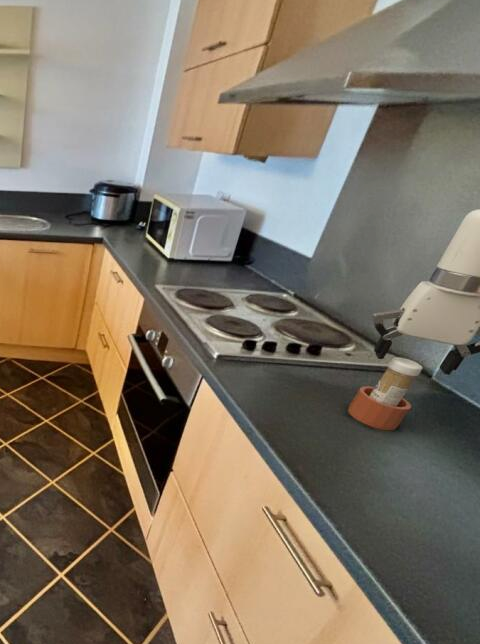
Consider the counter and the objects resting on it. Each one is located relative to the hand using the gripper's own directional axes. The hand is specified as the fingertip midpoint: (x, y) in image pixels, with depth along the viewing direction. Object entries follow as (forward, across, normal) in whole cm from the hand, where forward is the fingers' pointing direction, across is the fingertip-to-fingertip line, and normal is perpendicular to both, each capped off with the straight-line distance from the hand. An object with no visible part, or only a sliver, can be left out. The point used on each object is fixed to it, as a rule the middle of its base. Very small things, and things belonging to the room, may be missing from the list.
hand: (410, 363), depth 82 cm
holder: (+14, +1, 0) cm, 14 cm away
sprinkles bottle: (+13, +1, 0) cm, 13 cm away
